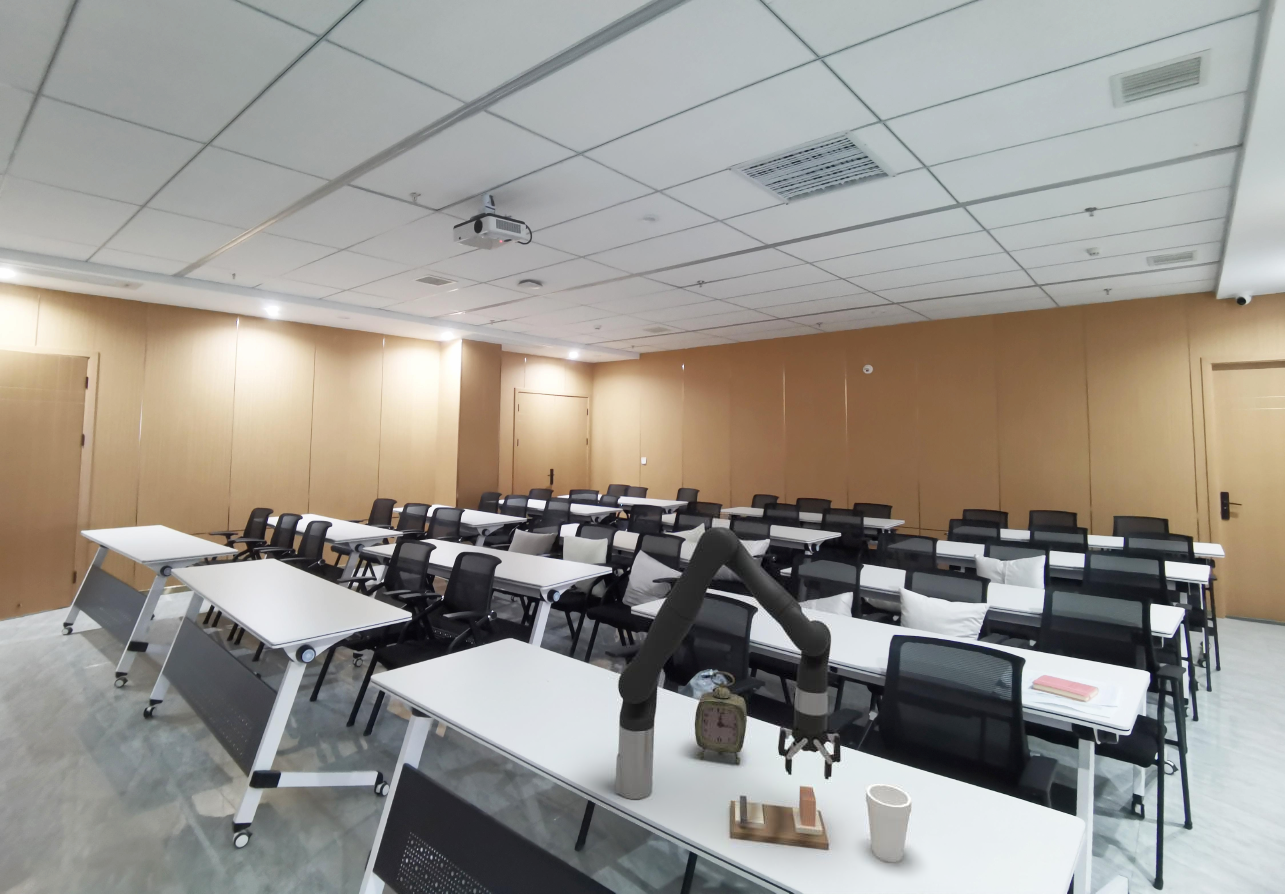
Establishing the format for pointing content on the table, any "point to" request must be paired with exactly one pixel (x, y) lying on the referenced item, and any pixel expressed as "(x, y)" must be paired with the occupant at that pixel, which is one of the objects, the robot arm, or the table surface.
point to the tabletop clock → (721, 720)
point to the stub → (807, 813)
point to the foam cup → (888, 820)
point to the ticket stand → (771, 825)
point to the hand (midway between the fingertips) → (807, 775)
